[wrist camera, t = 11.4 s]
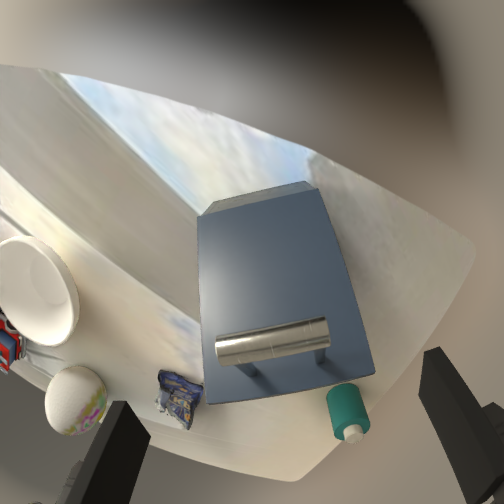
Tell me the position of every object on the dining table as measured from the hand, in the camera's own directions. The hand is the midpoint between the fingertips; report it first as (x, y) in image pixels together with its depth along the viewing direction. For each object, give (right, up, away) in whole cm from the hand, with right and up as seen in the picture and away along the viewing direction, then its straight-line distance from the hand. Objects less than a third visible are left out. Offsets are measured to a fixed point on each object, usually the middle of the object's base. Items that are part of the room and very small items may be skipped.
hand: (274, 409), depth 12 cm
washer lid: (+1, +4, +15) cm, 15 cm away
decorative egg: (-35, -20, +42) cm, 59 cm away
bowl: (-37, +2, +35) cm, 51 cm away
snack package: (-15, -20, +41) cm, 48 cm away
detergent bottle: (+16, -20, +41) cm, 48 cm away
